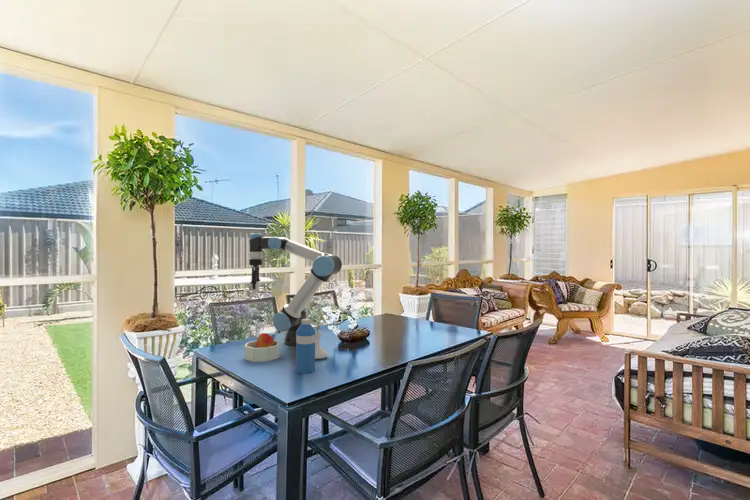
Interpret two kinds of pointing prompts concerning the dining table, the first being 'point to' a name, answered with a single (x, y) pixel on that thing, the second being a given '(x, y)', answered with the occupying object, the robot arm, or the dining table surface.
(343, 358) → the dining table surface
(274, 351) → the white faceted bowl
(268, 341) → the apple
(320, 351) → the flower in vase
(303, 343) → the water bottle
